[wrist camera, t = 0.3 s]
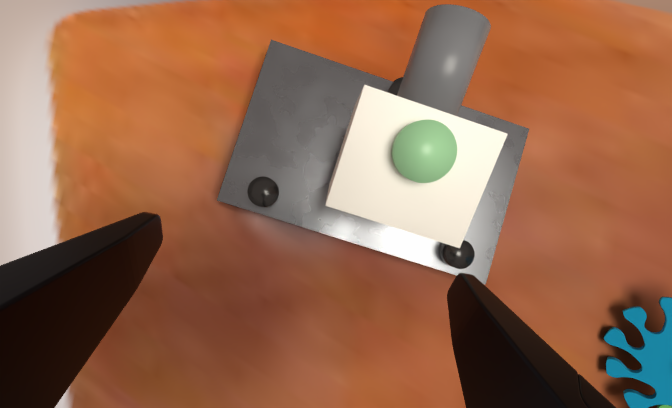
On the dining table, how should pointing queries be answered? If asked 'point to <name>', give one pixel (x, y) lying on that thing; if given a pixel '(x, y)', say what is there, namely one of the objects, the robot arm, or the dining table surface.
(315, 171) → the base
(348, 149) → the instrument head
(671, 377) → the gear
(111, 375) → the dining table surface
